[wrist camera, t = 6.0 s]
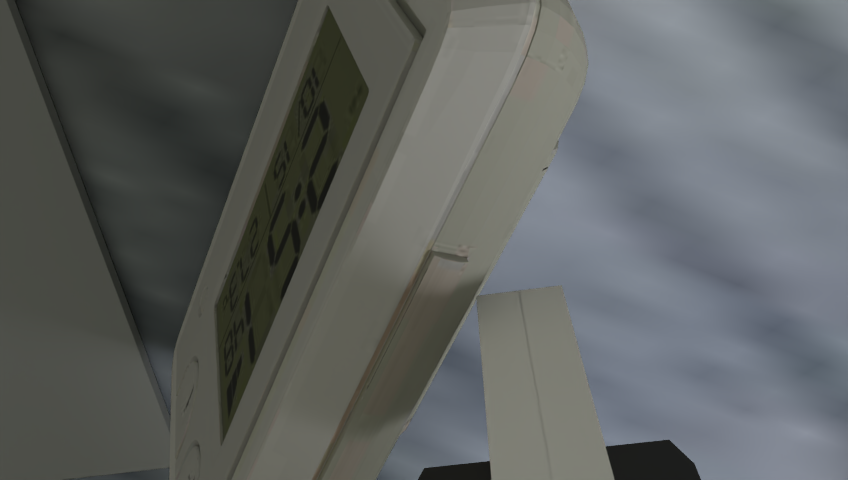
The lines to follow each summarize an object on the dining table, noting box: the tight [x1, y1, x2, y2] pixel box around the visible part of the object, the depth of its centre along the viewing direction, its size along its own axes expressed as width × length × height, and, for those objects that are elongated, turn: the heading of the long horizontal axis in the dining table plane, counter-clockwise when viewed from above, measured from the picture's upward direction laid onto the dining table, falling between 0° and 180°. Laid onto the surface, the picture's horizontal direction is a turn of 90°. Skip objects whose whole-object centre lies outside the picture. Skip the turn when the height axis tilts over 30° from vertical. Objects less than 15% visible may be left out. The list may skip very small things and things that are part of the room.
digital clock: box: [169, 0, 588, 480], centre depth 19 cm, size 16×9×11 cm, turn 145°
